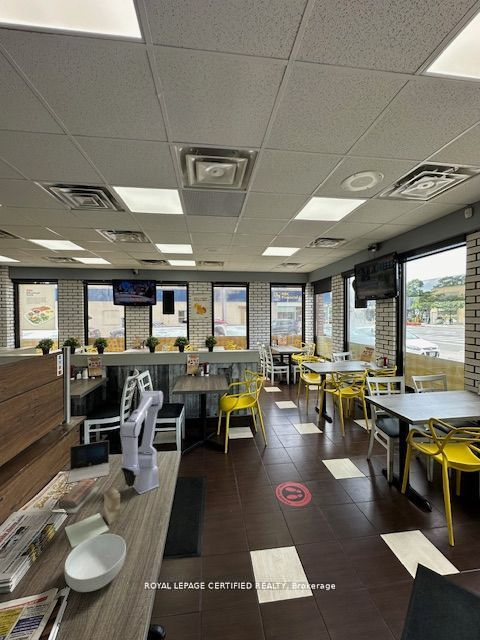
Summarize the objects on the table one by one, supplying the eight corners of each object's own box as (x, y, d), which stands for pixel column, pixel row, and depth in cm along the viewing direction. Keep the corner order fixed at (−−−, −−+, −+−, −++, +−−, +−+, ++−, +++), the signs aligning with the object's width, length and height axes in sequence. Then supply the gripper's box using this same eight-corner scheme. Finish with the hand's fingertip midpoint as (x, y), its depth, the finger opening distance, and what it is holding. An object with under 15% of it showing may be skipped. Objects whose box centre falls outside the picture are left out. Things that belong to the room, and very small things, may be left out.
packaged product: (79, 476, 132) (99, 477, 131) (79, 487, 132) (99, 488, 131) (51, 501, 114) (75, 502, 113) (51, 513, 114) (75, 514, 113)
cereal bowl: (122, 595, 80) (122, 570, 80) (55, 612, 75) (55, 586, 75) (128, 548, 96) (128, 528, 96) (73, 560, 92) (73, 538, 92)
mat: (99, 513, 113) (99, 512, 113) (109, 530, 105) (109, 529, 105) (64, 528, 105) (64, 527, 105) (72, 548, 96) (72, 547, 96)
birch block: (114, 511, 115) (114, 487, 114) (120, 519, 110) (120, 494, 110) (104, 516, 112) (104, 491, 112) (109, 524, 107) (109, 498, 107)
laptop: (66, 484, 133) (66, 457, 133) (70, 471, 145) (70, 446, 145) (108, 476, 141) (108, 450, 141) (108, 464, 152) (108, 440, 152)
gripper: (114, 448, 118) (113, 480, 118) (127, 461, 108) (126, 497, 108) (130, 443, 123) (130, 474, 123) (144, 455, 112) (144, 489, 112)
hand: (130, 484), depth 116 cm, fingers closed
